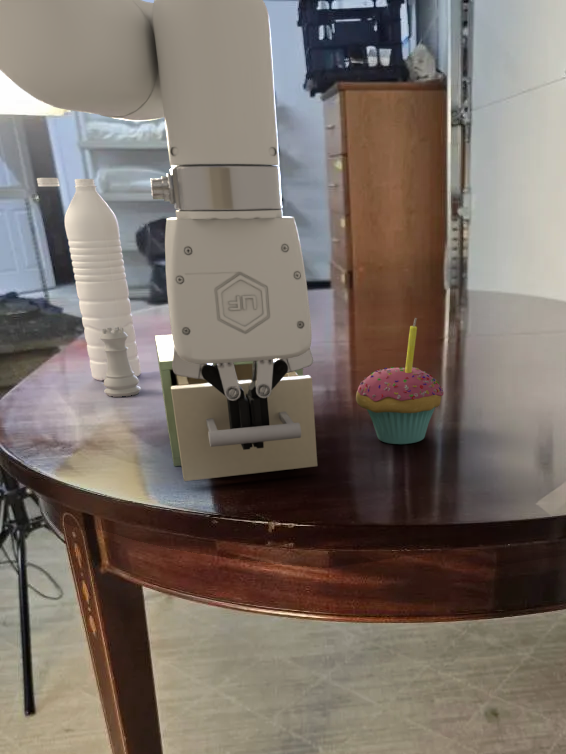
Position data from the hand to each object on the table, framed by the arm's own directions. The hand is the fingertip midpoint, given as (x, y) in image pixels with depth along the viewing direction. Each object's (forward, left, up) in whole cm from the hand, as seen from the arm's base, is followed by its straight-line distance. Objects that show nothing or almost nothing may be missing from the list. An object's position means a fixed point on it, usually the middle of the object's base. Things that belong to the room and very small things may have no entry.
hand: (251, 443), depth 62 cm
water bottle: (-13, +53, -5) cm, 55 cm away
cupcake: (+16, +11, -5) cm, 20 cm away
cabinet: (0, +17, -4) cm, 18 cm away
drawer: (0, +7, -3) cm, 8 cm away
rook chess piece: (-11, +42, -5) cm, 44 cm away
